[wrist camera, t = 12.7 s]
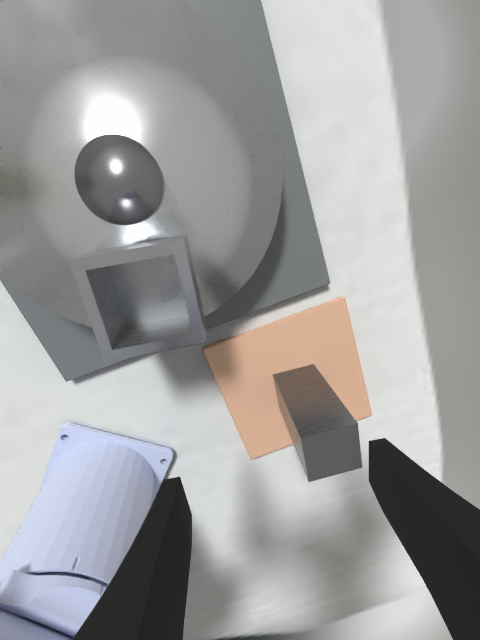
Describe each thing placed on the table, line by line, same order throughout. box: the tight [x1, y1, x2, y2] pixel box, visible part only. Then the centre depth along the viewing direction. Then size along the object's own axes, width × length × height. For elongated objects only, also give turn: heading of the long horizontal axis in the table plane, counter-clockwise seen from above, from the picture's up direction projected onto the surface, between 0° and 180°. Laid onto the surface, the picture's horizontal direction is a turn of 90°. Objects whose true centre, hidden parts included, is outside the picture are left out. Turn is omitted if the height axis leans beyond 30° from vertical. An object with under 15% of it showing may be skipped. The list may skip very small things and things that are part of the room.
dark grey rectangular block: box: [272, 364, 362, 482], centre depth 19 cm, size 3×3×6 cm
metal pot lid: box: [0, 0, 283, 362], centre depth 14 cm, size 15×15×5 cm
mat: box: [203, 296, 372, 460], centre depth 22 cm, size 10×10×1 cm
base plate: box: [0, 0, 330, 382], centre depth 17 cm, size 18×18×1 cm
